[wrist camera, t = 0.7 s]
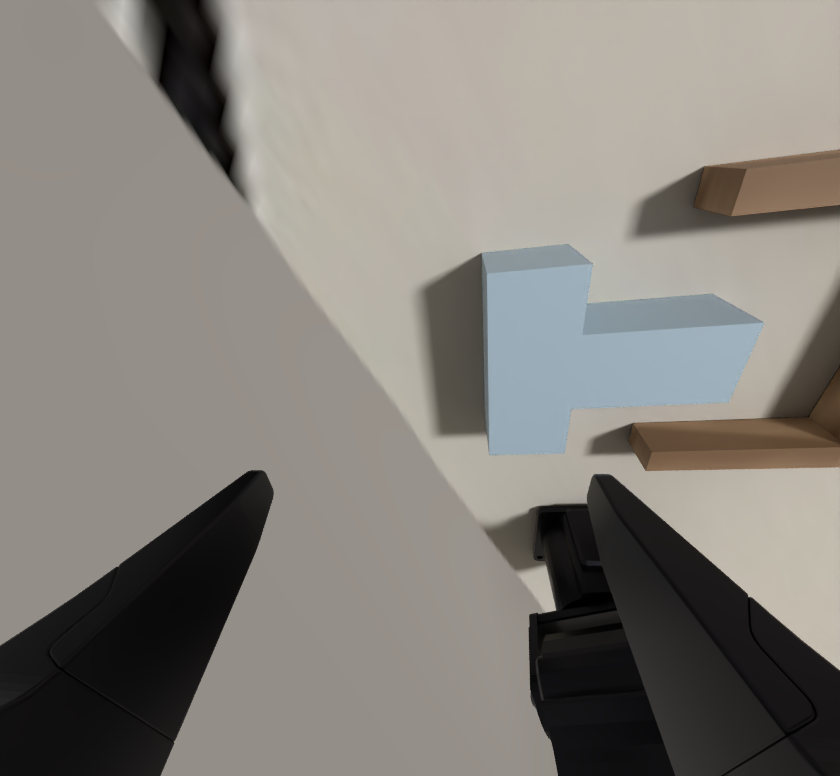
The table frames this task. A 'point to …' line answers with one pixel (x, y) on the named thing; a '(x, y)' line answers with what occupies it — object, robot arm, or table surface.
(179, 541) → the robot arm
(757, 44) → the table surface
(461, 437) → the table surface
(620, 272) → the table surface
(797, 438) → the pocket
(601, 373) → the t block
